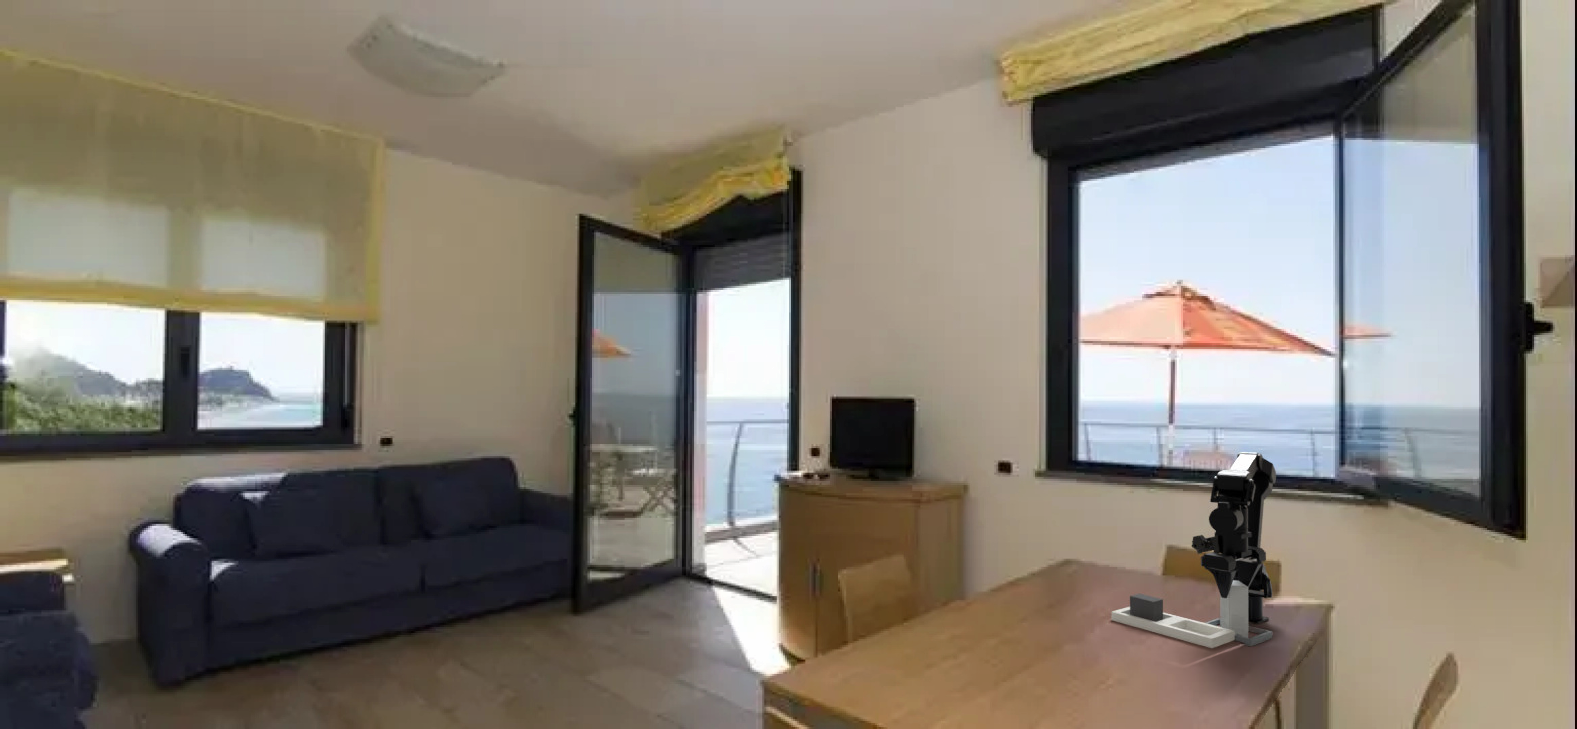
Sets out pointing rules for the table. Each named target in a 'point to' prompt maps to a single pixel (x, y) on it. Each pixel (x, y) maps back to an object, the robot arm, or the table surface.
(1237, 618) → the skincare box
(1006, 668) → the table surface
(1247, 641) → the gray rectangular frame
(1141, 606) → the dark gray rectangular block
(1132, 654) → the table surface
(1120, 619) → the divided desk organizer
